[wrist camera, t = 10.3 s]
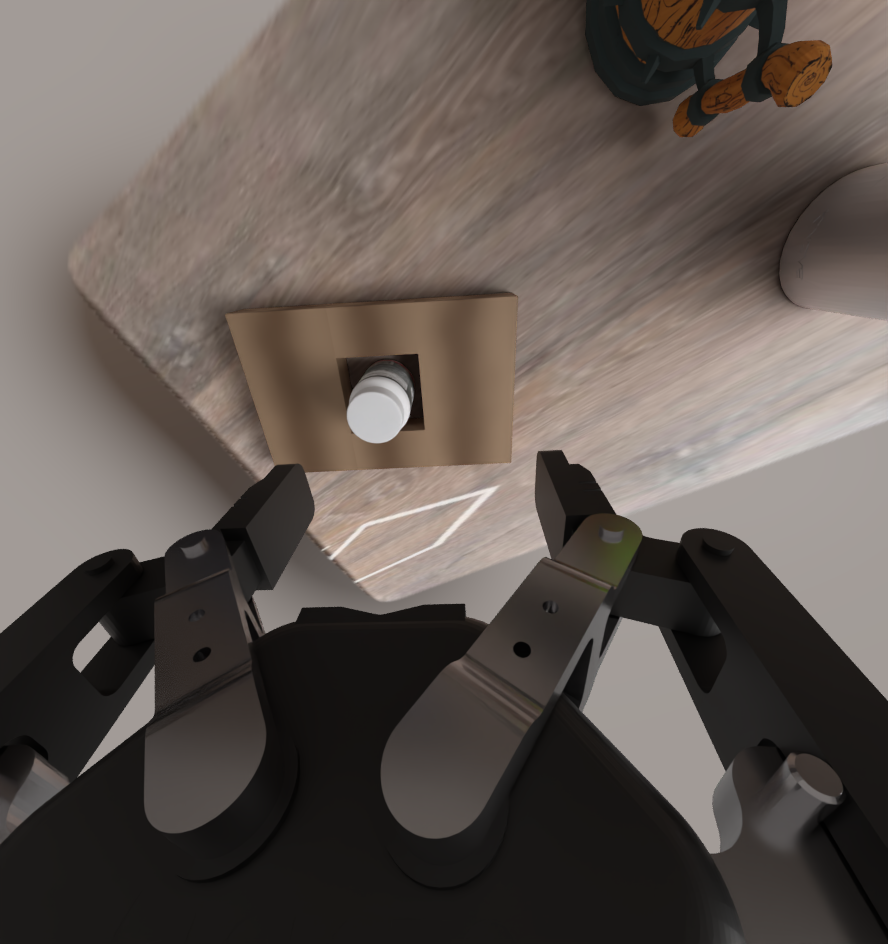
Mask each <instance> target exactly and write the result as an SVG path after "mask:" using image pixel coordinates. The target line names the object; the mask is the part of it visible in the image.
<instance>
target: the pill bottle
mask: <svg viewBox="0 0 888 944" xmlns="http://www.w3.org/2000/svg"><path fill="white" fill-rule="evenodd" d="M414 394H415V382H414V378H413V376H412V374H411V372H410V371H409V370H408V369H407V368H406V367H405V366H404V365H403V364H401V363H399V362H397V361H394V360H380V361H377V362H375V363H374V364H372V365H371V366H370V367H369V368H368V369H367V371H366V372H365V374H364V375H363V376H362V378H361V379H360V381H359V382H358V383H357V385H356V386H355V388H354V389H353V391H352V393H351V395H350V399H349V406H348V409H347V421H348V424H349V427H350V428H351V430H352V431H353V433H354V434H355V435H356V436H358V437H359V438H361V439H362V440H364V441H367V442H370V443H384V442H387V441H389V440H391V439H393V438H394V437H395V436H396V435H397V434H398V432H399V431H400V429H402V428H403V427H404V425H405V424H406V422H407V421H408V418H409V415H410V411H411V407H412V402H413V398H414Z"/></svg>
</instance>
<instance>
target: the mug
mask: <svg viewBox="0 0 888 944" xmlns="http://www.w3.org/2000/svg"><path fill="white" fill-rule="evenodd" d="M786 11H787V0H587V3H586V29H585V35H586V39H587V42H588V46H589V50H590V54H591V57H592V61H593V65H594V69H595V72H596V73H597V74H598V76H599V77H600V78H601V79H602V81H603V82H604V83H605V84H606V86H607V87H608V88H609V90H610V91H611V92H612V93H613V95H614V96H616V97H619V98H621V99H624V100H626V101H629V102H632V103H634V104H637V105H639V106H643V105H649V104H654V103H660V102H666V101H670V100H672V99H673V98H675V97H676V96H678V95H679V94H681V93H682V92H684V91H685V90H687V89H688V88H690V87H691V86H693V85H694V84H697V88H698V91H697V92H696V93H694V94H693V95H691V96H689V97H688V98H687V99H685V100H684V101H683V102H682V103H681V104H680V105H679V107H678V109H677V111H676V114H675V116H674V118H673V129H674V132H675V133H676V134H677V135H678V136H679V137H693V136H694V135H695V134H697V133H698V132H699V131H700V130H702V129H703V127H704V126H705V125H706V124H708V123H709V122H710V121H712V120H713V119H714V118H715V117H716V116H717V115H718V114H720V113H728V112H730V111H733V110H735V109H738V108H741V107H742V106H744V105H745V104H747V103H748V102H750V101H751V102H762V101H764V100H766V99H768V98H770V97H772V96H773V99H774V101H775V102H776V104H777V106H778V107H797V106H798V105H800V104H801V103H803V102H804V101H806V100H807V99H809V98H810V97H811V96H812V95H813V94H814V93H815V92H816V91H817V90H818V89H819V87H820V86H821V85H822V84H823V83H824V82H825V80H826V78H827V76H828V74H829V72H830V70H831V68H832V57H831V51H830V45H828V44H826V43H825V42H823V41H822V40H815V41H798V42H794V43H791V44H785V43H781V42H782V37H783V33H784V29H785V21H786ZM748 25H749V26H752V27H754V28H756V29H759V43H758V53H757V57H756V58H755V59H754V60H753V61H752V62H751V63H749V64H748V65H747V68H746V69H745V70H743V71H741V72H739V73H737V74H735V75H733V76H731V77H729V78H727V79H724V80H723V79H715V75H714V67H715V66H716V65H717V63H718V62H719V61H720V60H721V58H722V57H723V56H724V55H725V53H726V52H727V51H728V50H729V48H730V47H731V46H732V45H733V43H734V42H735V41H736V40H737V38H738V36H739V35H740V34H741V33H742V32H743V31H744V30H745V29H746V27H747V26H748Z"/></svg>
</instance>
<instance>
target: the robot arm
mask: <svg viewBox="0 0 888 944" xmlns="http://www.w3.org/2000/svg"><path fill="white" fill-rule="evenodd" d="M779 276H780V282H781V287H782V289H783V291H784V293H785V295H786V296H787V297H788V298H789V299H790V300H791V301H792V302H793V303H794V304H797V305H799V306H801V307H803V308H809V309H815V310H821V311H828V312H834V313H841V314H847V315H852V316H859V317H865V318H872V319H879V320H886V321H888V163H883V164H878V165H873V166H870V167H866V168H863V169H859V170H856V171H854V172H852V173H850V174H848V175H846V176H844V177H842V178H841V179H839V180H838V181H836V182H835V183H834V184H832V185H831V186H829V187H828V188H826V189H825V190H824V191H823V192H822V193H821V194H820V195H819V196H818V197H817V198H816V199H815V200H813V201H812V202H811V204H810V205H809V206H808V207H807V209H806V210H805V211H804V212H803V213H802V215H801V216H800V217H799V219H798V220H797V222H796V224H795V225H794V227H793V228H792V230H791V232H790V234H789V236H788V239H787V241H786V243H785V245H784V248H783V252H782V256H781V260H780V271H779ZM535 503H536V509H537V513H538V516H539V519H540V522H541V526H542V529H543V532H544V536H545V539H546V542H547V545H548V549H549V552H550V555H551V559H549V558H547V557H544V558H542V559H541V560H540V562H538V563H537V565H536V566H535V567H534V569H533V570H532V571H531V572H530V574H529V575H528V576H527V577H526V579H525V580H524V581H523V582H522V584H521V585H520V586H519V587H518V589H517V590H516V591H515V592H514V594H513V595H512V596H511V597H510V599H509V600H508V601H507V602H506V604H505V605H504V606H503V608H502V609H501V610H500V611H499V613H498V614H497V615H496V616H495V618H494V619H493V620H492V621H491V623H490V624H487V623H485V622H482V621H479V620H476V619H473V618H469V617H466V611H465V604H437V605H436V604H434V605H421V606H417V607H412V608H409V609H404V610H400V611H396V612H392V613H387V614H383V615H378V614H372V613H367V612H363V611H358V610H354V609H349V608H344V607H315V608H314V607H313V608H302V609H301V612H300V614H299V616H298V618H297V620H296V622H292V623H289V624H286V625H284V626H281V627H279V628H276V629H274V630H272V631H270V632H268V633H266V634H265V631H264V628H263V624H262V621H261V618H260V615H259V612H258V609H257V606H256V603H255V601H254V599H253V597H252V595H253V594H254V592H255V590H273V588H274V587H275V585H276V583H277V581H278V580H279V578H280V576H281V574H282V573H283V571H284V569H285V567H286V565H287V564H288V561H289V560H290V558H291V556H292V555H293V553H294V551H295V549H296V548H297V546H298V544H299V542H300V540H301V539H302V537H303V535H304V533H305V531H306V530H307V528H308V526H309V524H310V523H311V521H312V519H313V516H314V510H315V507H314V500H313V497H312V494H311V491H310V487H309V484H308V481H307V478H306V474H305V471H304V469H303V467H302V465H301V464H280V465H276V466H275V467H274V468H273V469H272V470H271V471H270V472H269V473H268V475H267V476H266V477H265V478H264V479H262V480H261V481H259V482H257V483H256V484H254V485H253V486H252V487H250V488H249V489H248V490H247V491H246V492H245V493H244V494H243V495H242V496H241V499H239V500H238V501H237V502H236V503H235V504H234V507H231V508H230V509H229V511H228V512H227V513H226V514H225V515H224V516H223V517H222V518H221V519H220V521H219V522H218V523H217V524H216V525H215V526H214V527H213V528H212V529H209V530H202V531H197V532H194V533H192V534H189V535H187V536H185V537H183V538H181V539H179V540H178V541H176V542H175V543H174V544H173V545H172V546H170V547H169V549H168V550H167V551H166V553H165V556H164V557H160V558H156V559H152V560H148V561H143V562H139V561H138V560H137V558H136V557H135V555H134V554H133V552H132V551H130V550H128V549H118V550H113V551H109V552H106V553H103V554H100V555H98V556H95V557H93V558H91V559H89V560H87V561H86V562H84V563H83V564H81V565H80V566H78V567H77V568H76V569H74V570H73V571H72V572H71V573H70V574H69V575H67V576H66V577H65V578H64V579H63V580H62V581H60V582H59V583H58V584H57V585H56V586H55V587H54V588H52V589H51V590H50V591H49V592H48V593H47V594H45V596H43V597H42V598H41V599H40V600H39V601H37V602H36V603H35V604H34V605H33V606H32V607H30V608H29V609H28V610H27V611H26V612H25V613H24V614H22V615H21V616H20V617H19V618H18V619H17V620H15V621H14V622H13V623H12V624H11V625H10V626H8V627H7V628H6V629H5V630H4V631H3V632H2V633H0V944H888V701H887V700H886V698H885V697H884V696H883V695H882V694H881V693H880V692H879V691H878V690H877V688H876V687H875V686H874V685H873V684H872V683H871V682H870V681H869V679H868V678H867V677H866V676H865V675H864V674H863V673H862V672H861V671H860V669H859V668H858V667H857V666H856V665H855V664H854V663H853V662H852V661H851V659H850V658H849V657H848V656H847V655H846V654H845V653H844V652H843V651H842V649H841V648H840V647H839V646H838V645H837V644H836V643H835V642H834V641H833V640H832V638H831V637H830V636H829V635H828V634H827V633H826V632H825V631H824V629H823V628H822V627H821V626H820V625H819V624H818V623H817V622H816V621H815V619H814V618H813V617H812V616H811V615H810V614H809V613H808V612H807V610H806V609H805V608H804V607H803V606H802V605H801V604H800V603H799V602H798V601H797V599H796V598H795V597H794V596H793V595H792V594H791V593H790V592H789V591H788V589H787V588H786V587H785V586H784V585H783V584H782V583H781V582H780V580H779V579H778V578H777V577H776V576H775V575H774V574H773V573H772V572H771V570H770V569H769V568H768V567H767V566H766V565H765V564H764V563H763V562H762V560H761V559H760V558H759V557H758V556H757V555H756V554H755V553H754V552H753V550H752V549H751V548H750V547H749V546H748V545H747V544H745V543H744V542H743V541H741V540H740V539H738V538H736V537H734V536H732V535H730V534H727V533H725V532H722V531H718V530H714V529H707V528H698V529H691V530H688V531H687V532H685V533H684V534H683V535H682V538H681V541H680V543H677V542H670V541H665V540H659V539H653V538H649V537H645V536H643V535H642V531H641V530H640V528H639V527H638V526H637V525H636V524H635V523H634V522H632V521H631V520H629V519H627V518H625V517H622V516H619V515H616V513H615V511H614V510H613V508H612V506H611V505H610V503H609V501H608V500H607V498H606V497H605V495H604V493H603V492H602V491H601V488H600V487H599V485H598V483H596V480H595V478H594V477H593V475H592V474H591V472H590V471H589V470H587V469H586V468H584V467H583V466H581V465H580V464H569V463H568V461H567V459H566V457H565V455H564V453H563V452H562V450H553V451H538V453H537V461H536V481H535ZM622 618H627V619H632V620H636V621H640V622H644V623H648V624H652V625H656V626H659V628H660V631H661V633H662V635H663V637H664V639H665V641H666V644H667V646H668V648H669V650H670V652H671V654H672V656H673V659H674V661H675V663H676V665H677V667H678V670H679V672H680V674H681V676H682V678H683V680H684V682H685V685H686V687H687V689H688V691H689V693H690V695H691V697H692V700H693V702H694V704H695V706H696V708H697V711H698V713H699V715H700V717H701V719H702V721H703V723H704V726H705V728H706V730H707V732H708V734H709V736H710V739H711V741H712V743H713V745H714V747H715V749H716V752H717V754H718V756H719V758H720V760H721V762H722V764H723V767H724V769H725V771H726V772H725V774H724V775H723V777H722V778H721V780H720V782H719V783H718V785H717V786H716V788H715V790H714V794H713V802H712V805H713V812H714V816H715V819H716V823H717V827H718V830H719V834H720V853H716V854H709V852H708V851H707V849H706V848H705V846H704V844H703V843H702V842H701V840H700V839H699V837H698V836H697V834H696V833H695V832H694V830H693V829H692V828H691V826H690V825H689V824H688V823H687V821H686V820H685V819H684V818H683V817H682V815H680V813H679V812H678V811H677V810H676V809H675V808H674V807H673V806H672V805H671V804H670V803H669V802H668V801H667V800H666V799H665V798H664V797H663V796H662V795H661V794H660V792H659V791H658V790H656V788H655V787H654V786H653V785H652V784H651V783H650V782H649V781H648V780H647V779H646V778H645V777H644V776H643V775H642V774H641V773H640V772H639V771H638V770H637V769H636V768H635V767H634V766H633V765H632V764H631V763H630V761H628V759H627V758H626V757H625V756H624V755H623V754H622V753H621V752H620V751H619V750H618V749H617V748H616V747H615V746H614V745H613V744H612V743H611V742H610V741H609V740H608V739H607V738H606V737H605V736H604V735H603V734H602V732H601V731H599V729H598V728H597V727H596V726H595V725H594V724H593V723H592V722H591V721H590V720H589V719H588V718H587V717H586V716H585V715H584V714H583V713H582V711H583V709H584V707H585V705H586V702H587V700H588V697H589V695H590V692H591V690H592V686H593V683H594V680H595V677H596V675H597V672H598V670H599V667H600V665H601V663H602V661H603V659H604V657H605V655H606V652H607V650H608V648H609V646H610V644H611V642H612V640H613V637H614V635H615V633H616V631H617V629H618V627H619V625H620V622H621V620H622ZM98 622H100V624H101V625H102V626H103V627H104V629H105V630H106V631H107V632H108V633H109V635H110V636H111V637H110V639H109V640H108V641H107V642H106V643H105V644H104V646H103V647H102V648H101V649H100V651H99V652H98V653H97V654H96V655H95V656H94V657H93V659H92V660H91V661H90V662H89V663H88V664H87V666H86V667H85V668H84V669H83V670H82V672H81V673H80V672H79V671H78V670H77V669H76V668H75V667H74V665H73V661H72V660H73V659H72V657H73V653H74V650H75V648H76V647H77V645H78V644H79V642H80V641H81V640H82V639H83V638H84V637H85V636H86V635H87V634H88V633H89V632H90V631H91V630H92V628H93V627H94V626H95V625H96V624H97V623H98ZM154 665H155V713H154V717H153V718H152V719H151V720H150V721H149V722H148V723H147V724H146V725H145V726H143V727H142V728H141V729H139V730H138V731H137V732H136V733H134V734H133V735H132V736H130V737H129V738H128V739H127V740H125V741H124V742H123V743H121V744H120V745H119V746H118V747H116V748H115V749H114V750H112V751H111V752H110V753H108V754H107V755H106V756H105V757H103V758H102V759H101V760H100V761H98V762H97V763H96V764H94V765H93V766H92V767H90V768H89V769H88V770H87V771H85V772H84V773H83V774H81V775H80V776H79V777H78V775H79V774H80V772H81V771H82V769H83V768H84V767H85V765H86V764H87V762H88V760H89V759H90V758H91V756H92V755H93V753H94V752H95V751H96V749H97V748H98V746H99V745H100V743H101V742H102V740H103V739H104V737H105V736H106V735H107V733H108V732H109V730H110V729H111V727H112V726H113V724H114V723H115V721H116V720H117V719H118V717H119V715H120V714H121V713H122V711H123V710H124V708H125V707H126V705H127V704H128V702H129V701H130V699H131V698H132V697H133V695H134V694H135V692H136V691H137V689H138V688H139V687H140V685H141V684H142V682H143V681H144V679H145V678H146V676H147V675H148V673H149V672H150V670H151V669H152V668H153V666H154Z"/></svg>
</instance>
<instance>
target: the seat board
mask: <svg viewBox="0 0 888 944" xmlns="http://www.w3.org/2000/svg"><path fill="white" fill-rule="evenodd" d="M517 305H518V296H517V295H515V294H513V293H499V294H482V295H466V296H450V297H434V298H417V299H401V300H385V301H368V302H352V303H336V304H320V305H303V306H287V307H271V308H255V309H242V310H239V311H235V312H231V313H227V314H225V316H226V319H227V322H228V325H229V328H230V331H231V334H232V337H233V340H234V343H235V346H236V349H237V352H238V355H239V358H240V362H241V365H242V368H243V371H244V374H245V377H246V380H247V383H248V386H249V389H250V392H251V395H252V398H253V401H254V404H255V407H256V410H257V413H258V416H259V419H260V422H261V425H262V428H263V431H264V435H265V438H266V441H267V444H268V447H269V450H270V453H271V456H272V459H273V462H274V465H275V466H276V465H280V464H301V465H302V467H303V469H304V471H305V472H323V471H345V470H366V469H387V468H408V467H430V466H451V465H472V464H493V463H511V454H512V429H513V405H514V380H515V355H516V330H517ZM403 354H418V357H419V368H420V379H421V391H422V402H423V413H424V417H422V418H408V421H407V422H406V424H405V425H404V427H403V428H402V429H400V431H399V432H398V434H397V435H396V436H395V437H394V438H393V439H391V440H389V441H387V442H384V443H370V442H367V441H364V440H362V439H361V438H359V437H358V436H356V435H355V434H354V433H353V431H352V430H351V428H350V427H349V424H348V421H347V409H348V406H349V399H350V395H351V393H352V387H351V381H350V376H349V371H348V365H347V360H346V358H350V357H367V356H385V355H403Z"/></svg>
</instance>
